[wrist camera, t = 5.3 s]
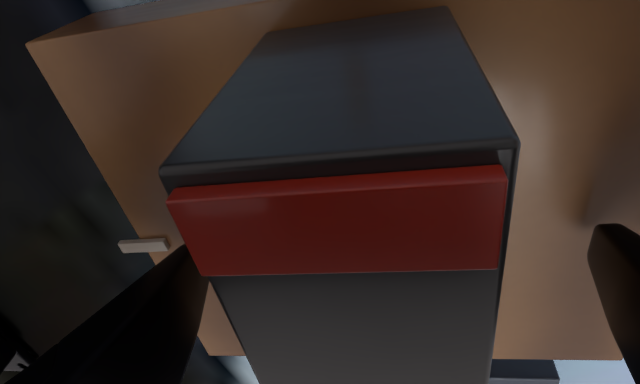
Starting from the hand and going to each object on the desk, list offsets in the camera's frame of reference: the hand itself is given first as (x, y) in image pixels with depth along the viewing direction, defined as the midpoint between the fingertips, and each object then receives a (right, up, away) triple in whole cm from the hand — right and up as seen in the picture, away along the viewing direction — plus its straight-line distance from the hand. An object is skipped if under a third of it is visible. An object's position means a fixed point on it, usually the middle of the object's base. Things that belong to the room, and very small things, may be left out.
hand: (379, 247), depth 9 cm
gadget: (0, 0, 0) cm, 0 cm away
